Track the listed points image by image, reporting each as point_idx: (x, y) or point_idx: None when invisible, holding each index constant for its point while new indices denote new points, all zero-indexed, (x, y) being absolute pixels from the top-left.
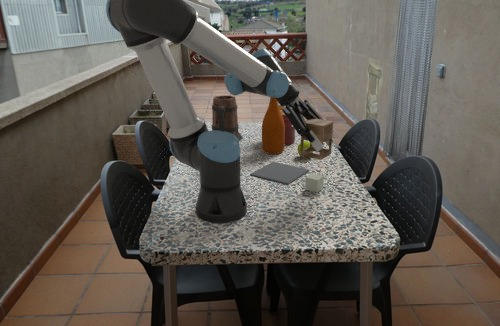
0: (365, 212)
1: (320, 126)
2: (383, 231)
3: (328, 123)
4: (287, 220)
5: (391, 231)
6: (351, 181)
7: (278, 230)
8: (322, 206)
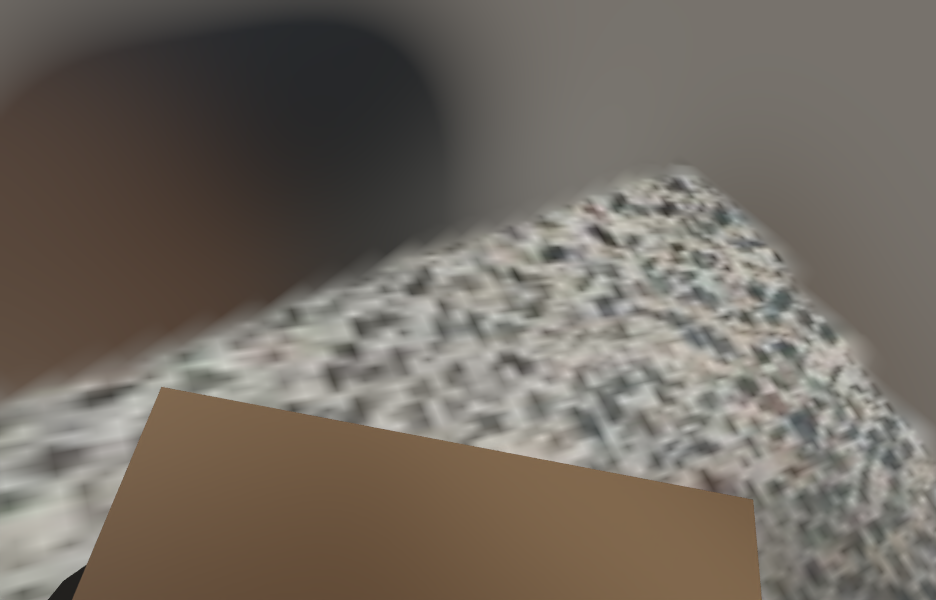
0: (544, 269)
1: (741, 583)
2: (655, 204)
3: (470, 450)
4: (802, 588)
5: (641, 182)
6: (152, 382)
7: (894, 589)
8: (581, 465)
